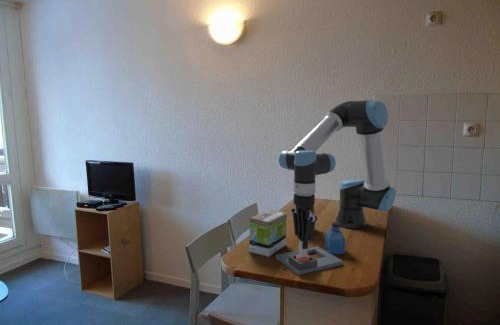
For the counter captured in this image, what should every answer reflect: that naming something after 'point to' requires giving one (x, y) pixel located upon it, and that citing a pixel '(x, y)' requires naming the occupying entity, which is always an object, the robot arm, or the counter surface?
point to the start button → (302, 258)
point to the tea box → (267, 232)
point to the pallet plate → (311, 265)
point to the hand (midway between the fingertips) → (302, 256)
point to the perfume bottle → (335, 240)
